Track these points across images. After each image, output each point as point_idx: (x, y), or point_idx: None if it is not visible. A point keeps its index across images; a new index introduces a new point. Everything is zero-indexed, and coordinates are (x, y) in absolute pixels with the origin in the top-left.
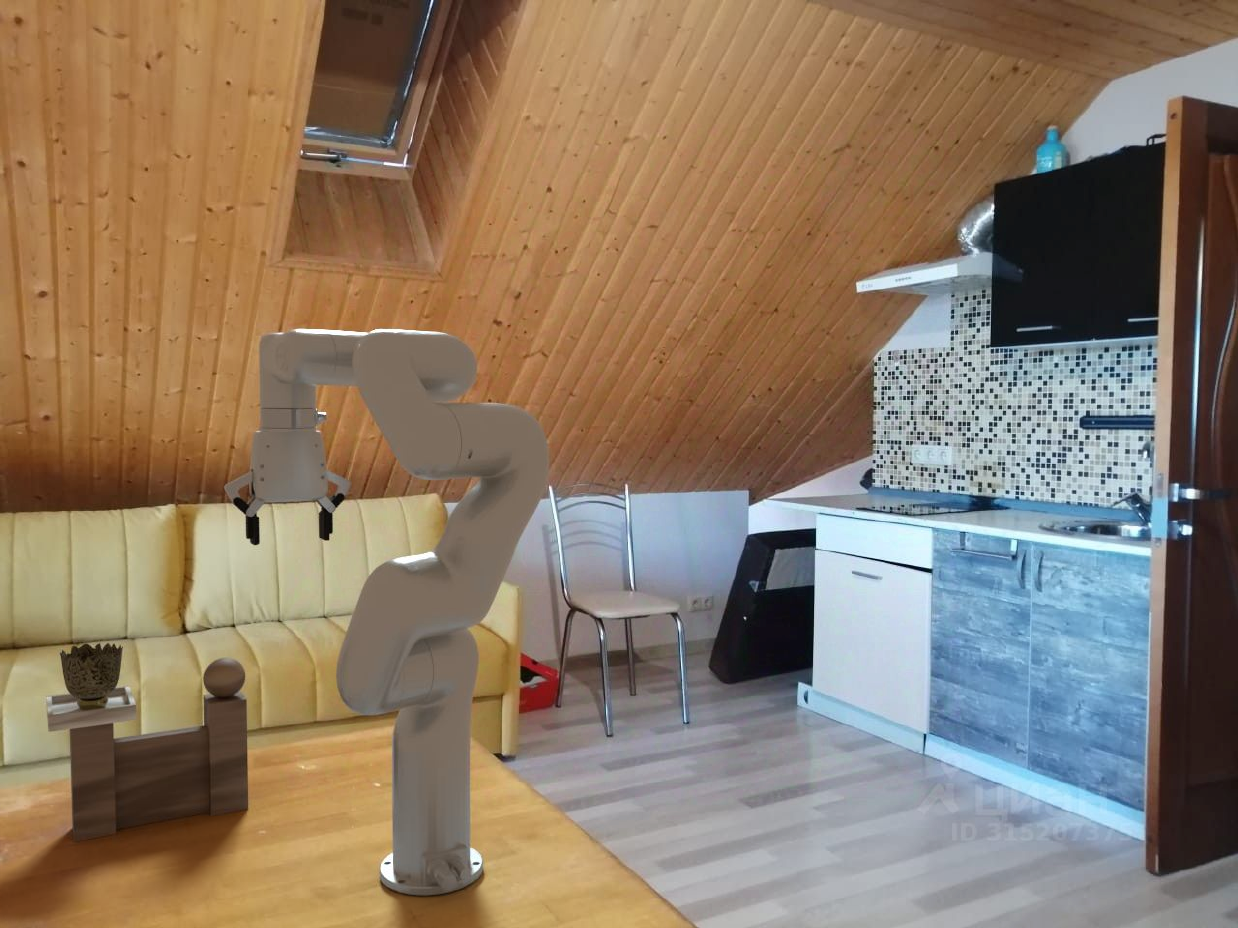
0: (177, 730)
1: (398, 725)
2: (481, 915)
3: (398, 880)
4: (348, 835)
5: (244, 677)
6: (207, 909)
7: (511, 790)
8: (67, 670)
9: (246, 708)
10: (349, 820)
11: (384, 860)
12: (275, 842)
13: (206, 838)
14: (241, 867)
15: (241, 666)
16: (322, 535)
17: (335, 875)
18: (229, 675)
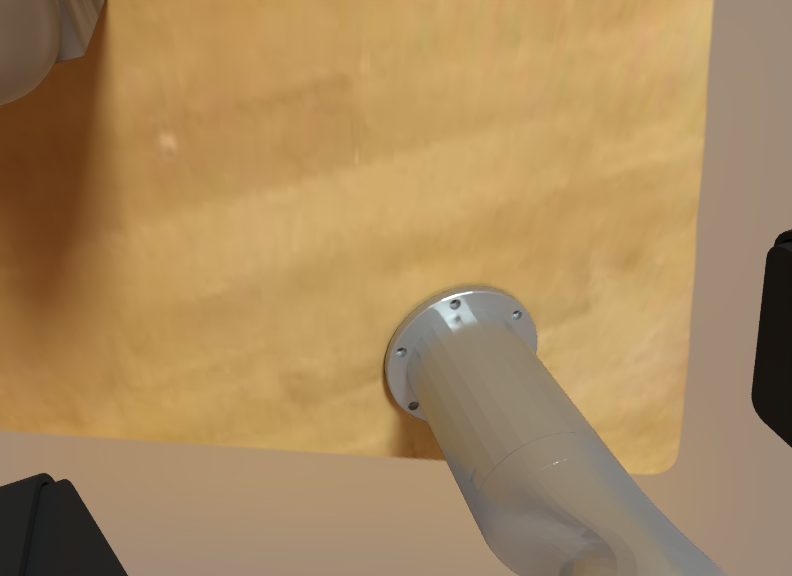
0: None
1: (508, 553)
2: None
3: (409, 403)
4: (345, 198)
5: (61, 35)
6: (122, 416)
7: (684, 49)
8: None
9: (86, 47)
10: (351, 125)
11: (398, 344)
12: (203, 200)
13: (42, 150)
14: (151, 292)
15: (39, 33)
16: (782, 382)
17: (317, 341)
18: (4, 103)
